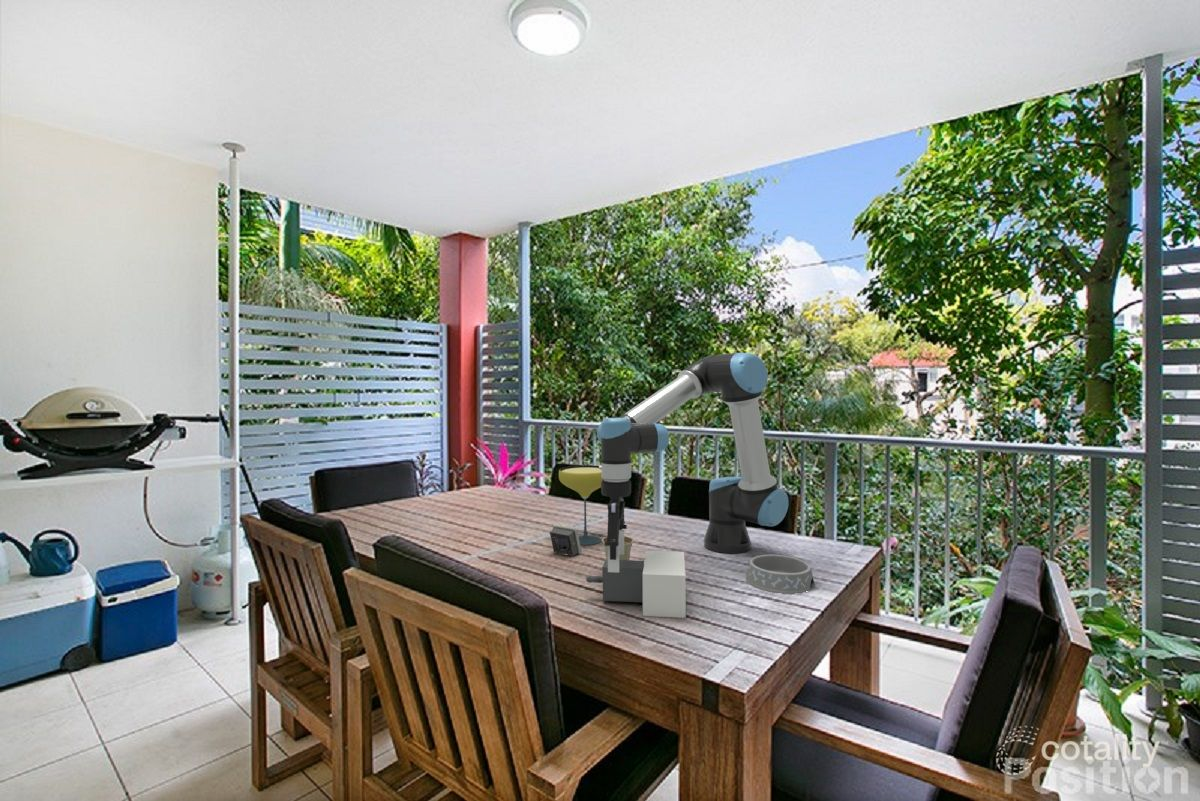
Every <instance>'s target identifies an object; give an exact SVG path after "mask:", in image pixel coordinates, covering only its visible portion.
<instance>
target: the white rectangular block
mask: <svg viewBox="0 0 1200 801" xmlns="http://www.w3.org/2000/svg"><path fill="white" fill-rule="evenodd" d="M643 561H644V568H643V602H642V616H643V617H658V618H659V617H660V618H676V619H677V618H678V619H680V618H681V619H686V616H687V615H686V614H687V613H686V611H687V609H686V604H687V603H686V600H687V599H686V594H687V593H686V590H687V589H686V563H685V552H684V551H671V550H670V551H669V550H646V551H645V556H644V560H643Z"/></svg>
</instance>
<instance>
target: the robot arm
mask: <svg viewBox="0 0 1200 801" xmlns="http://www.w3.org/2000/svg"><path fill="white" fill-rule="evenodd" d="M768 377H769V376H768V370H767V367H766V365H765V362H764V361H763V360H762V359H761V357H759V356H758V355H757V354H755V353H751V352H734V353H731V352H730V353H722V354H721V353H720V354H717V353H716V354H710V355H707V356H705V357H703V358H701V359H699V360H697V361H695V362H694V363H692V364H691V365H689V366H687V367H685V368H684V369H683V370H681V371H679V373H678V375H677V377H676V378H675V379H673V380H672V381H671V382H669V383H668V384H667V385H665V386H663V387H662V388H661V389H659V390H657V391H656V392H654V393H653V394H651V395H650V396H649V397H647V398H646V399H644V400H643V401H641V402H640V403H638V404H637V405H635V406H634V407H633V408H630V409H629V410H628V411H626V412H625V413H624V414H621V415H620V416H618V417H608V418H607V417H606V418H603V419H602V421H601V423H600V424H599V425H598V427H597V430H596V437H597V440H598V442H599V443H600V462H601V465H598V466H599V469H600V470H602V471H601V477H602V478H603V480H602V481H601V488H600V489H601V490H600V493H601V495H602V496H604V497H609V499H610V500H609V501H608V502H607V533H606V534H607V535H606V537H607V542H605V546H608V572H617V573H619V555H624V536H625V530H627V527H628V526H627V524H626V521H625V505H626V504H625V501H624V497H625V498H626V497H629V496H631V493H632V481H631V478H632V455H635V454H636V455H637V454H646V453H647V454H648V453H658V452H662V451H664V450H666V449H667V447H668V445H669V443H670V433H669V431H668V429H667V427H666V426H665V425H664V424H663V423H658V422H660V421H661V420H663V419H664V418H666V417H667V416H668V415H670V414H671V413H673V412H674V411H675V410H677V409H678V408H679V407H682V406H683V404H685V403H686V402H688V401H690V400H691V399H698V398H700V397H702V395H705V394H708V393H720V394H721V400H722V402H723V403H724V404H726V405H727V406H728V409H729V415H730V419H731V425H732V431H733V435H734V443H735V446H736V453H737V457H738V464H739V469H740V473H741V474H740V475H741V476H725V477H724V476H723V477H716V478H713V479H711V480H710V482H709V490H708V507H709V508H708V509H709V510H708V514H709V520H708V521H709V522H708V526H707V529H706V532H705V535H704V538H703V546H704V547H705V548H706V549H707V550H710V551H712V552H716V553H724V554H739V553H744V552H745V553H746V552H748V551H750V550H751V547H752V546H751V545H752V544H751V542H752V541H751V539H750V535H749V532H748V529H747V526H746V522H750V523H754V524H758V525H760V526H765V527H775V526H777V525H779V524H780V523H781V522H783V520H784V519H785V517H786V514H787V512H788V509H789V496H788V494H787V492H786V491H785V490H783V489H781V488H779V485H778V481H777V478H776V477H775V476H773V475H772V474H771V471H770V469H771V468H770V467H769V466H770V464H769V459H768V452H767V447H766V441H765V436H764V429H763V423H762V417H761V412H760V405H759V399H761V397H762V396H763V392H762V391H763V390H764V389H765V388H766V386H767V381H768ZM611 539H614V540H611Z"/></svg>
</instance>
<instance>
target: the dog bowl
mask: <svg viewBox="0 0 1200 801" xmlns="http://www.w3.org/2000/svg"><path fill="white" fill-rule="evenodd" d="M811 580H812V581H811ZM745 581H747V582H746V583H747V584H748V583H749V584H748V585H750V586H751V587H753V588H756V589H758V590H760V591H764V592H766V591H767V592H768V593H771V592H772V594H777V593H782V594H781V595H796V594H795V593H800V594H804V593H803V592H805V593H807V592H806V591H808V592H810V591H811V585H812V584H811V583H813V582H814V583H815V581H814V574H813V571H812V566H811V565H810V564H809V563H808V562H807V561H804V560H802V559H800V558H797V557H793V556H789V555H782V554H761V555H756V556H754V557H751V559H750V560H749V562H748V567H747V569H746V576H745ZM809 590H810V591H809ZM767 592H766V593H767Z"/></svg>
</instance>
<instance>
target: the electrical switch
mask: <svg viewBox="0 0 1200 801" xmlns="http://www.w3.org/2000/svg"><path fill="white" fill-rule="evenodd" d="M549 536H550V541H551V545H552V550H553V553H555V552H556V553H555V554H557V553H560V554H559V555H562V554H568V555H571V556H570V557H572V556H573V557H574V556H576V555H581V554H582V545H580V541H579V536H580V535H579V532H578V529H577V527H572V526H567V525H562V524H554V525H552V529H551V530H550V531H549Z"/></svg>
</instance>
